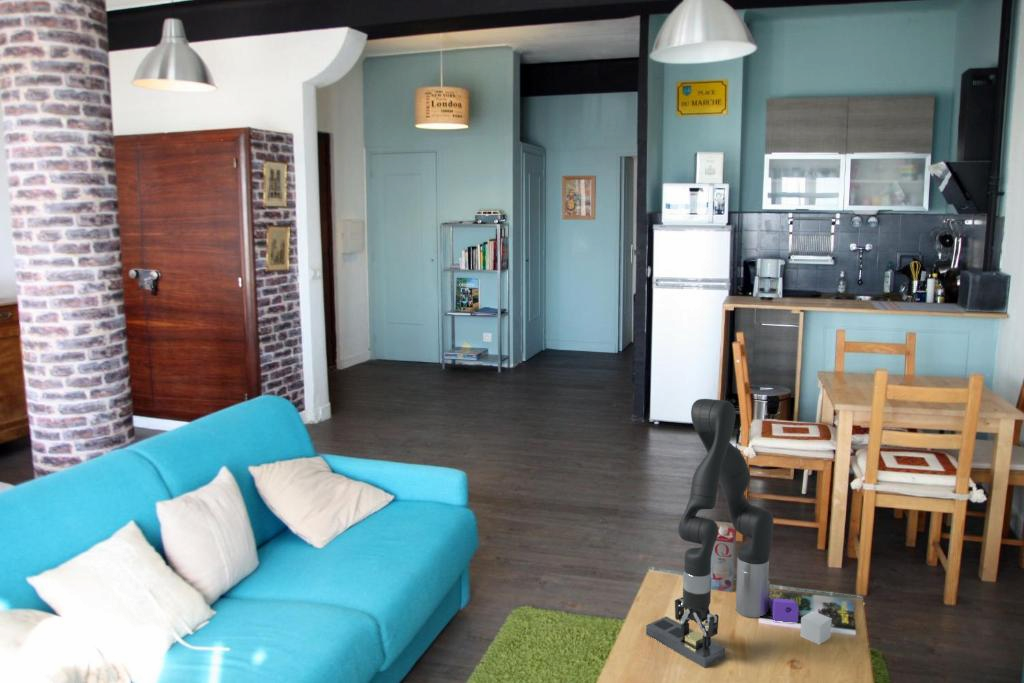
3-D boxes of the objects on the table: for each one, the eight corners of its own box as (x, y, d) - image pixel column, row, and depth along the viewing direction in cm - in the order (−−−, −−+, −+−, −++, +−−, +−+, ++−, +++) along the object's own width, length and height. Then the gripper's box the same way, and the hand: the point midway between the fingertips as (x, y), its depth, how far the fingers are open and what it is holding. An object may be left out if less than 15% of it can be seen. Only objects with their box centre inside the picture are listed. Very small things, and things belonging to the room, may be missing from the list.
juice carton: (731, 592, 271) (733, 527, 267) (710, 589, 274) (712, 524, 270) (734, 583, 277) (736, 519, 273) (713, 580, 280) (715, 517, 276)
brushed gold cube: (693, 646, 240) (693, 630, 239) (706, 653, 236) (706, 637, 235) (683, 651, 238) (683, 634, 237) (696, 658, 234) (697, 642, 233)
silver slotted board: (666, 625, 252) (666, 615, 251) (725, 657, 234) (725, 647, 234) (646, 634, 247) (646, 625, 246) (704, 668, 229) (705, 657, 229)
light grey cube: (800, 636, 244) (801, 617, 243) (811, 629, 248) (812, 610, 247) (819, 645, 240) (820, 625, 239) (830, 637, 243) (831, 618, 242)
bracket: (797, 624, 251) (798, 603, 250) (773, 623, 253) (774, 601, 251) (791, 605, 263) (792, 584, 262) (768, 603, 264) (769, 583, 263)
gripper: (726, 591, 230) (724, 648, 233) (686, 573, 242) (685, 627, 245) (708, 600, 226) (706, 657, 229) (668, 580, 237) (667, 635, 240)
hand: (695, 641), depth 237 cm, fingers open, 7 cm apart
